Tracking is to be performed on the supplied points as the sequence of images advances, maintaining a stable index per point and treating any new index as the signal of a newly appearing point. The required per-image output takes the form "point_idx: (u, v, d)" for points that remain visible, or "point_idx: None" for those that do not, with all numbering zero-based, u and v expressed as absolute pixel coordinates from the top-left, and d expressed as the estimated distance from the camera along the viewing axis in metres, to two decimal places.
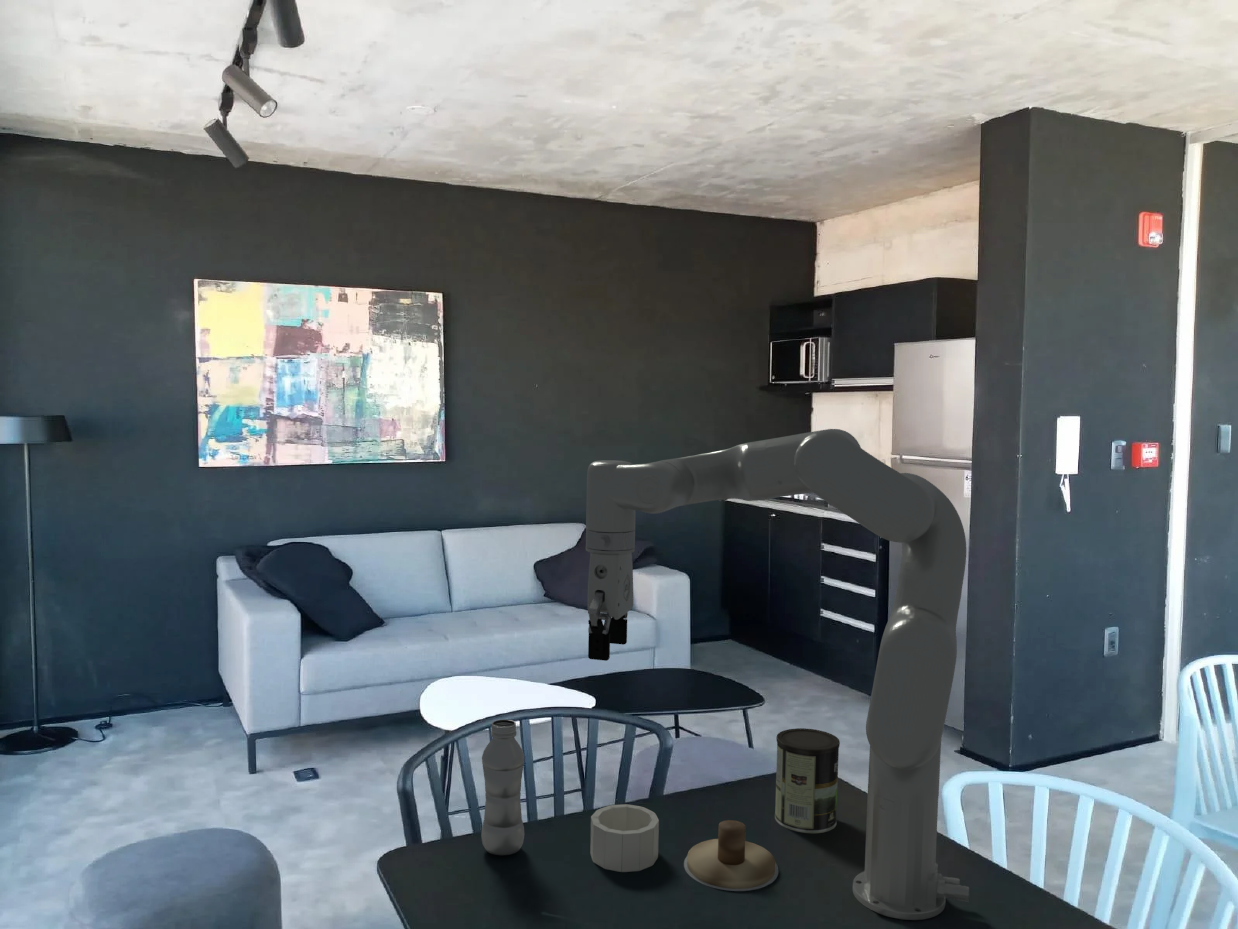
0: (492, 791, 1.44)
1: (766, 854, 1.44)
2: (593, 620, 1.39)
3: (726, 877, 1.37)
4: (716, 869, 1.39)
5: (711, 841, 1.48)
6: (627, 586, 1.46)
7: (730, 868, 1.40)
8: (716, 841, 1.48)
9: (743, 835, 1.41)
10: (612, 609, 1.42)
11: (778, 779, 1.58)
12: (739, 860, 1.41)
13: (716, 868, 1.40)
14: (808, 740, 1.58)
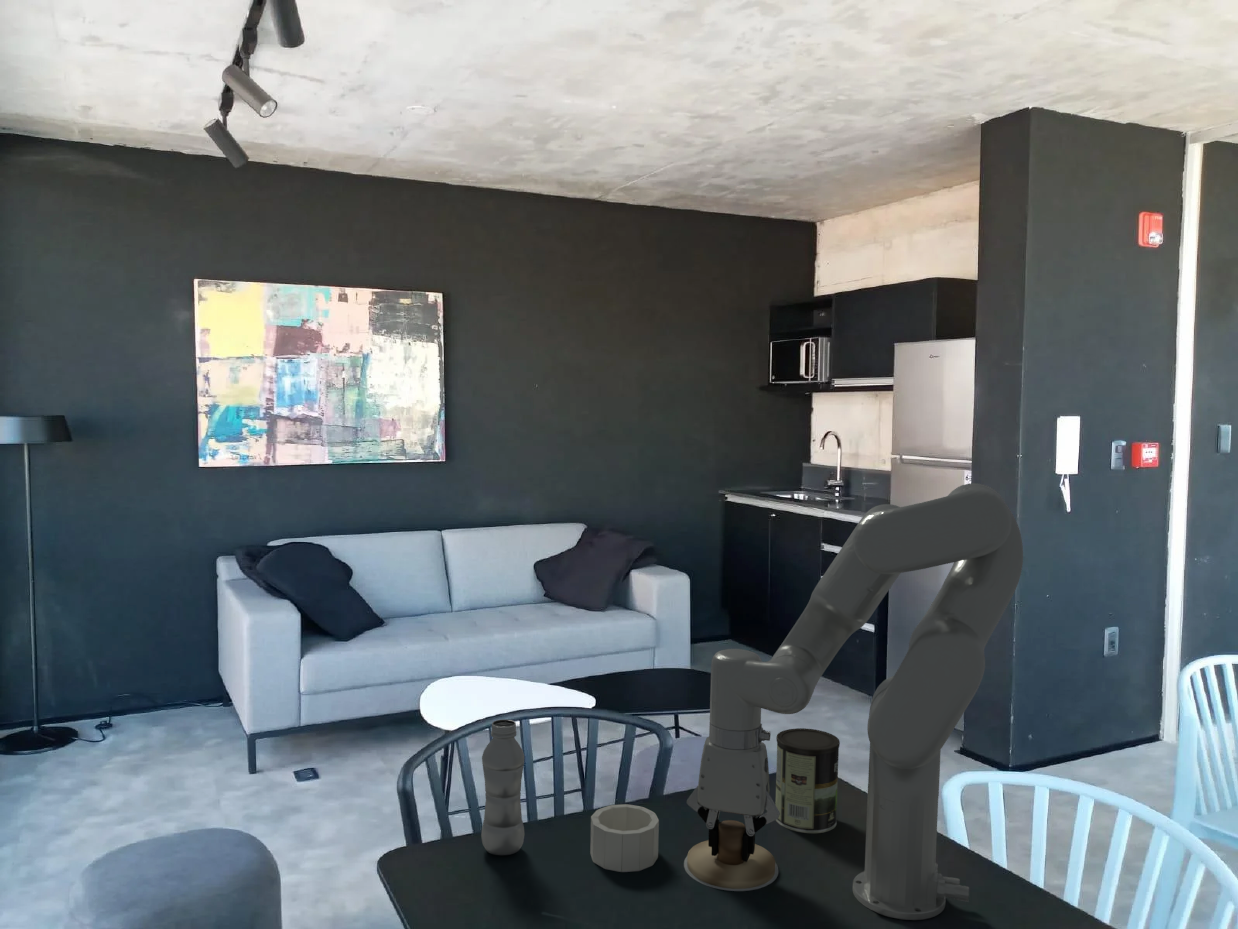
0: (492, 791, 1.44)
1: (766, 854, 1.44)
2: None
3: (726, 877, 1.37)
4: (716, 870, 1.39)
5: None
6: None
7: (730, 868, 1.40)
8: None
9: None
10: None
11: (778, 779, 1.58)
12: (739, 860, 1.41)
13: (716, 868, 1.40)
14: (808, 740, 1.58)
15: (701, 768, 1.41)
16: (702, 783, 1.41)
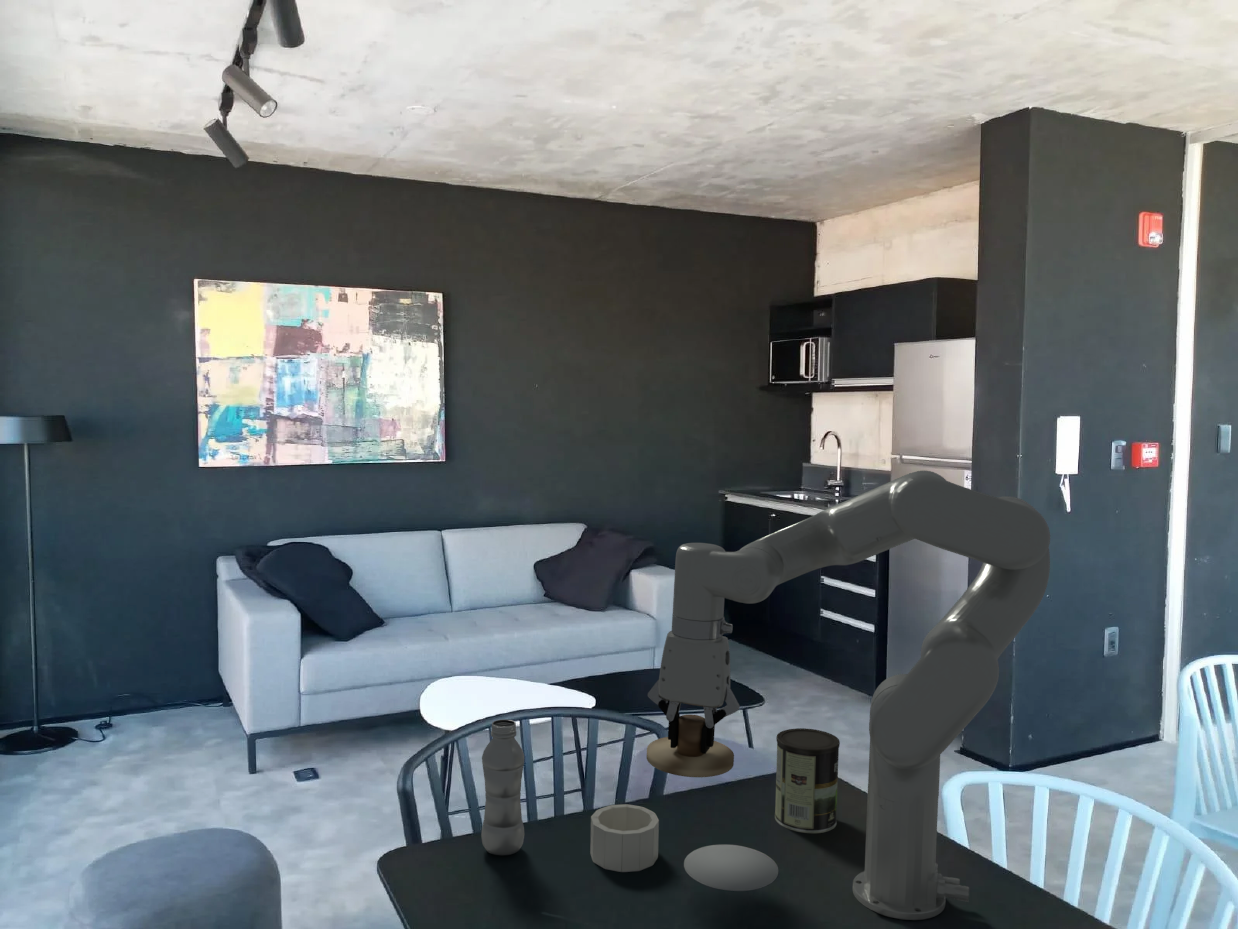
0: (492, 791, 1.44)
1: (726, 749, 1.44)
2: None
3: (683, 766, 1.37)
4: (674, 760, 1.39)
5: None
6: None
7: (688, 759, 1.40)
8: None
9: None
10: None
11: (778, 779, 1.58)
12: (698, 752, 1.41)
13: (674, 758, 1.40)
14: (808, 740, 1.58)
15: (662, 659, 1.41)
16: (663, 674, 1.41)
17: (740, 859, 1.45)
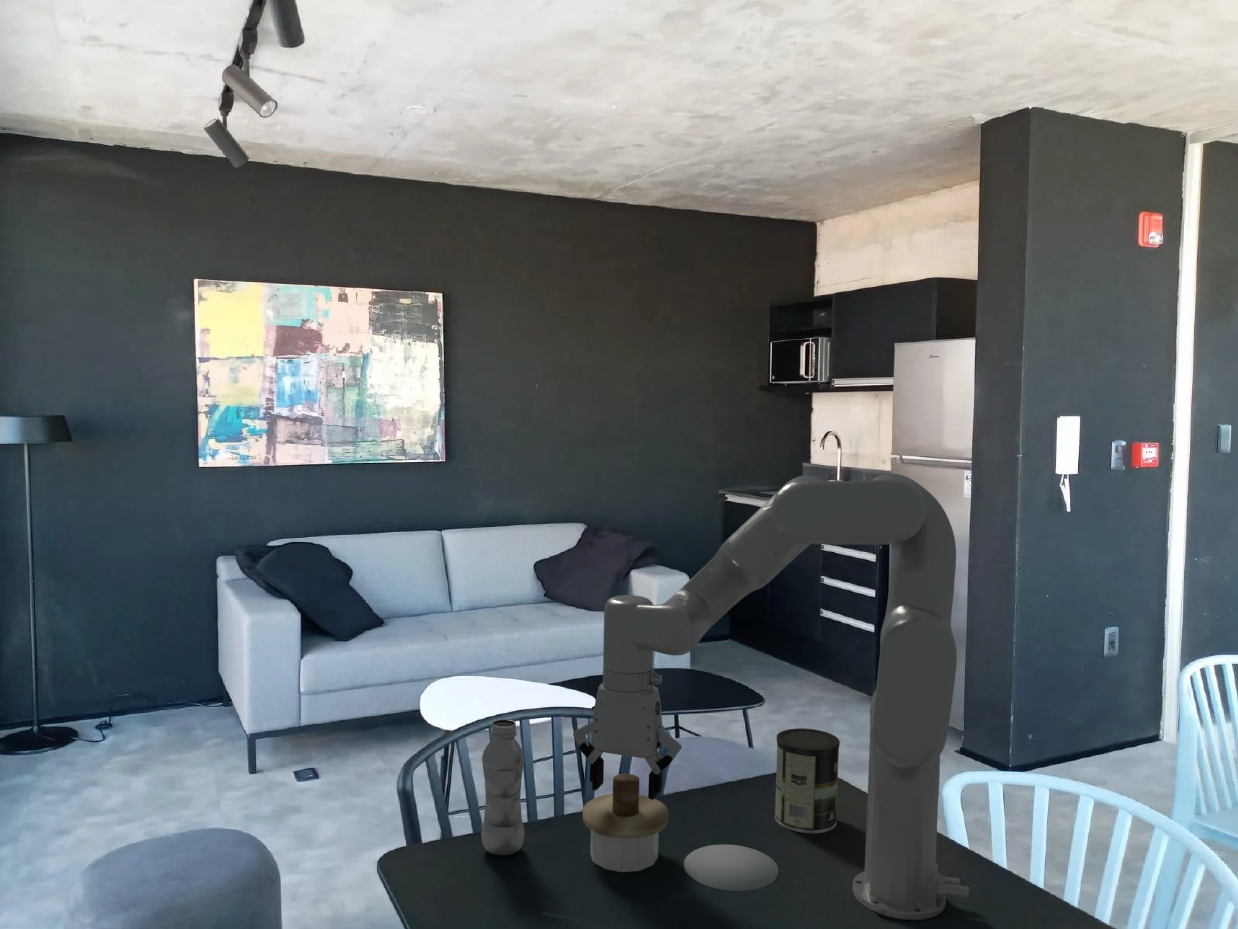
0: (492, 791, 1.44)
1: (661, 807, 1.47)
2: (675, 756, 1.42)
3: (616, 827, 1.39)
4: (608, 820, 1.42)
5: (610, 795, 1.51)
6: None
7: (622, 819, 1.42)
8: None
9: (636, 787, 1.44)
10: None
11: (778, 779, 1.58)
12: (632, 812, 1.43)
13: (608, 819, 1.42)
14: (808, 740, 1.58)
15: (595, 712, 1.44)
16: (595, 726, 1.43)
17: (740, 859, 1.45)
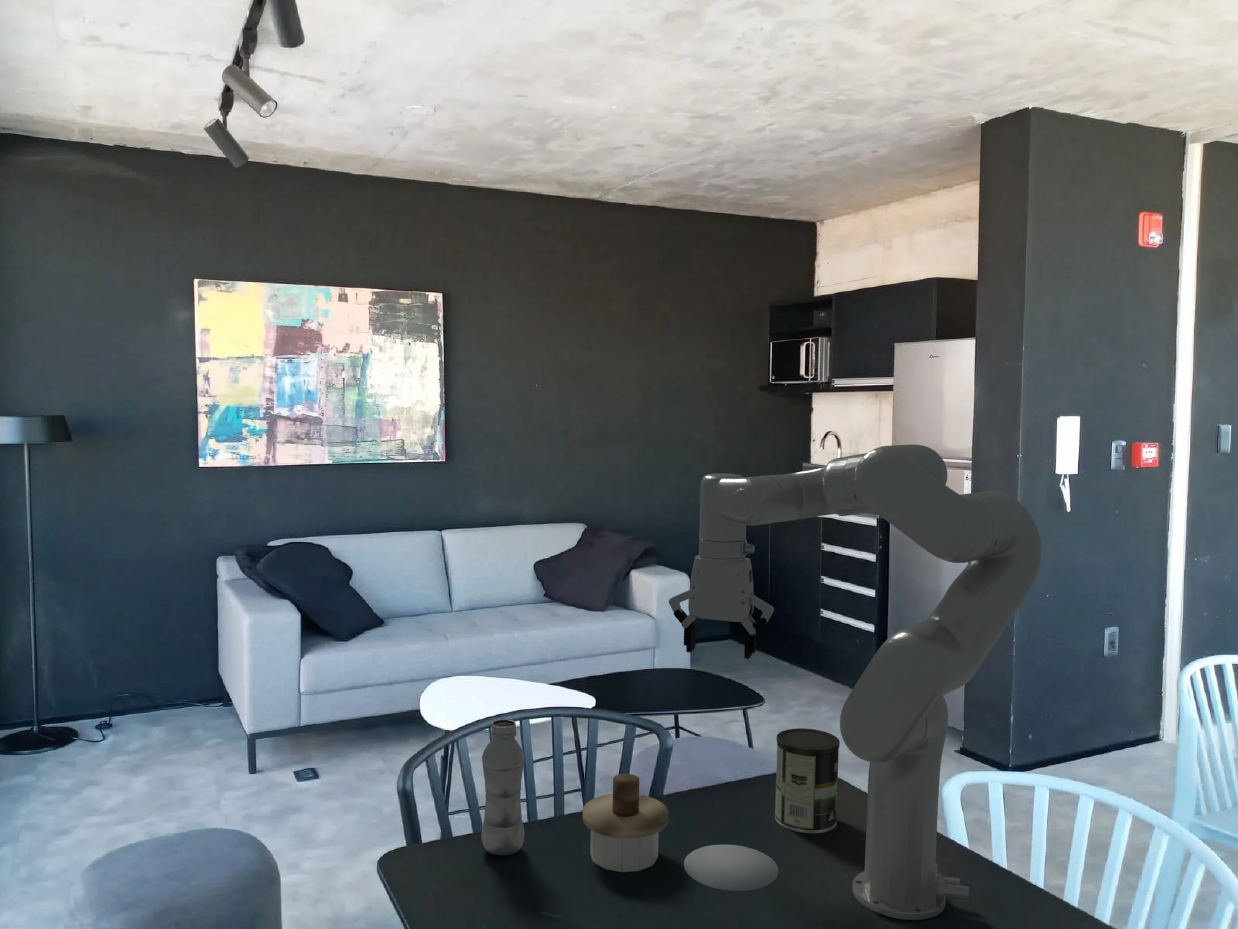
0: (492, 791, 1.44)
1: (661, 807, 1.47)
2: None
3: (616, 827, 1.39)
4: (608, 820, 1.42)
5: (610, 795, 1.51)
6: None
7: (622, 819, 1.42)
8: None
9: (636, 787, 1.44)
10: (753, 607, 1.56)
11: (778, 779, 1.58)
12: (632, 812, 1.43)
13: (608, 819, 1.42)
14: (808, 740, 1.58)
15: (691, 580, 1.55)
16: (692, 594, 1.55)
17: (740, 859, 1.45)
